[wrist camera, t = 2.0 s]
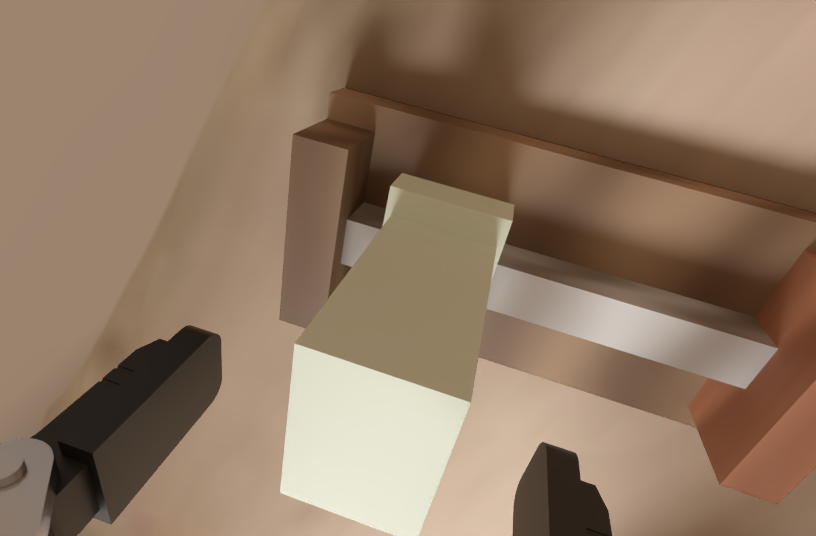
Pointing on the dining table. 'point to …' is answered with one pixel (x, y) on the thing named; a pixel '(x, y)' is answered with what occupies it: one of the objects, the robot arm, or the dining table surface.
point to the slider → (394, 359)
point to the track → (540, 221)
